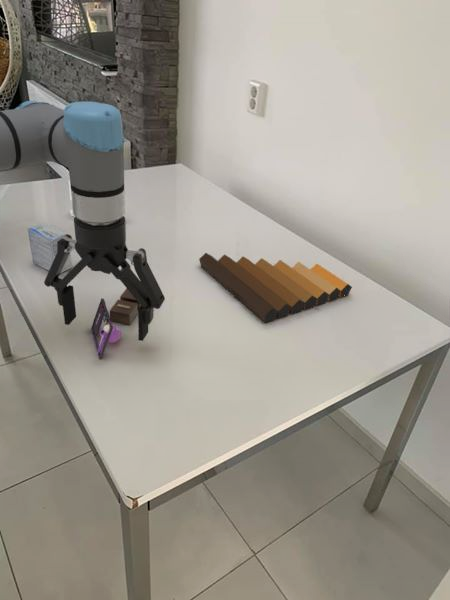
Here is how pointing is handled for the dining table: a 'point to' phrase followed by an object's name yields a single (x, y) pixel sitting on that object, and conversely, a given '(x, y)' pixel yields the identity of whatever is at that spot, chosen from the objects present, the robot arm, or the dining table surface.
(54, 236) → the medicine box
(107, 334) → the game card
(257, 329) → the dining table surface
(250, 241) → the dining table surface
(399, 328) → the dining table surface
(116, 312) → the brown segmented bar
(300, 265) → the pan flute
